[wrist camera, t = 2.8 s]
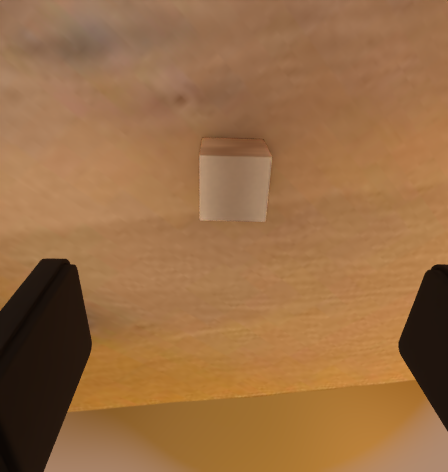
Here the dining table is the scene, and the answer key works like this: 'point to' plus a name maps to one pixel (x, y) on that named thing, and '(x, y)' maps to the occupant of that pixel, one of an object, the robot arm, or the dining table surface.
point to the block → (234, 179)
